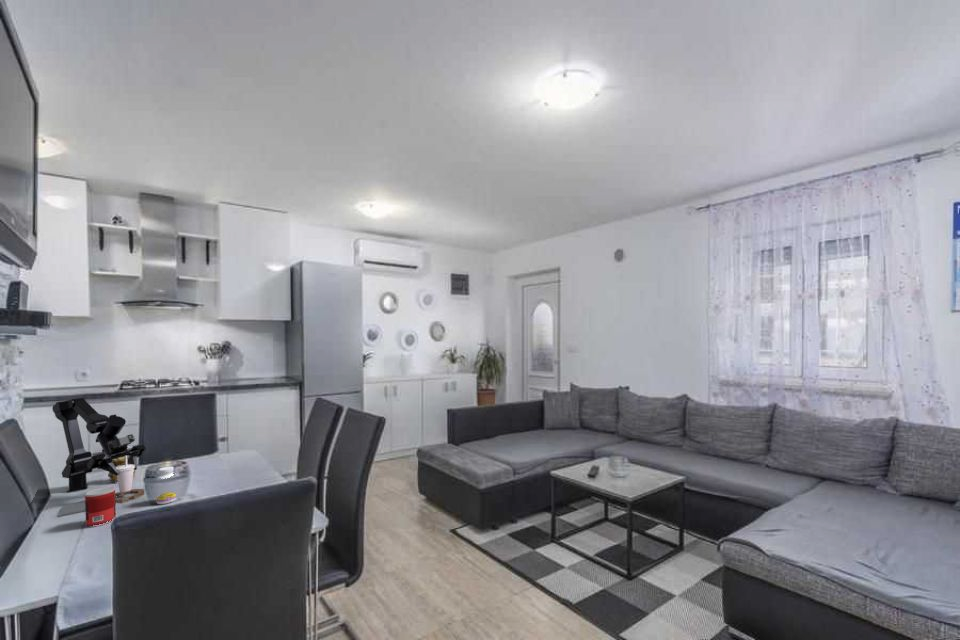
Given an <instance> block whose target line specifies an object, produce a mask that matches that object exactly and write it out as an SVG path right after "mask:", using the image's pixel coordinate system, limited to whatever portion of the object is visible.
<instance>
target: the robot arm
mask: <svg viewBox="0 0 960 640" xmlns="http://www.w3.org/2000/svg"><path fill="white" fill-rule="evenodd" d="M51 410H52V412H53V414H54V417H55V418H56V419H57V420H59V421H60V422H61V423H62V427H63V431H64V437H65V440H66V445H67V448H68V457H67V458H66V460H65V464H66V465H65V466H64V468H63V470H62V471H61V475H62V478H64V479H68V489H67V490H66V493H71V492H76V491H81V490H87V489H88V487H89V483H87V480H88V479H87V474H89V473H92V472H93V469H98V470H102V471H103V470H104V471H106V472H108V473H109V472H110V473H112V474H114V475H118V474H119V473H118V471H117V469H116V467H115V466H114V464H113V462H112V460H113V459H117V458H121V457H125V456H126V455H127V456H128V458H129V459H128V460H127V461H128V463H129V464H134V465H135V468H134V470H135V471H136V470H138V461H137V460H138V458H139V457H141V456H142V455H143V454H144V453H145V451H146V449H147V447H146V445H145V443H139V444H136V445H132V443H133V442H135V440H136V439H135V436H134V435H133V434H132V433H131V434H128V435H126V436H124V437H123V436H122V437H118V436H117V435H119V434H120V433H121V431H122V429H124V426H125V425H126V423H127V421H126V419H125V418H123V417H122V416H117V414H115V413H114V414H110V415H109V416H107V415H106V414H101V413H99V412H98V411H96V409H95V408H94V407H93V406H92V405H90V403H88V401H87V399H86V397H75V398H71V399H69V400H64V401H63V400H62V401H57V402H55V404H53V405H52V409H51ZM78 417H80V418H81V419H82V420H84V422H85V429H86V430H87V432H89V433H90V434H91V435H93V434H97V436H96V438H95V443H99V444H100V446H101V448H102V449H101V452H102V453H98V454H92V451H88V450H86V449H85V447H84V443H83V439H82V433H81V430H80V424H79V421H78ZM129 445H132V447H131V448H130V450H129V449H128V448H129V447H128V446H129ZM125 449H128V451H125Z"/></svg>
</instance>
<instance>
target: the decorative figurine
mask: <svg viewBox="0 0 960 640" xmlns="http://www.w3.org/2000/svg"><path fill="white" fill-rule="evenodd" d="M125 451H129V449H128V448H127V449H125ZM128 459H129V458H128V456H127V460H128ZM112 462H113V464H114V466H115V467H119V466H123V465H126V460H125V457H121V458H117V459H113V460H112ZM127 465H129V463H128V461H127ZM135 473H136V470H134V472H133V478H134V477H135V476H136V475H135ZM107 476H108V478H109V481H110V482H118V480H117V475H114V474H112V473H110V472H108V473H107Z"/></svg>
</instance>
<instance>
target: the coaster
mask: <svg viewBox="0 0 960 640" xmlns="http://www.w3.org/2000/svg"><path fill="white" fill-rule="evenodd" d="M83 512H85V500H84V501H80V502H76V503H70V504H65V505H62V507H61V509H60V511H59V513H58V515H57V517H58V516H61V517H65V516H64V515H66V516H69V515H74V514H79V513H83Z"/></svg>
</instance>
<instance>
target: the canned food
mask: <svg viewBox="0 0 960 640" xmlns="http://www.w3.org/2000/svg"><path fill="white" fill-rule="evenodd" d="M115 493H116V488H115V486H105V487H99V488H96V489H92V490H89V491H87V492H86V493H85V494H84V495H85V496H84V501H85V511H84V512H85V525H86V526H87V527H88V526H93V525H99V524H103V523H106V522H107V521H108V522H109V521H110V520H111V521H112V519H113V518H114V517H115V518H116V516H117V510H116V509H117V508H116V501H115ZM111 521H110V523H112V522H113V521H112V522H111Z"/></svg>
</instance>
